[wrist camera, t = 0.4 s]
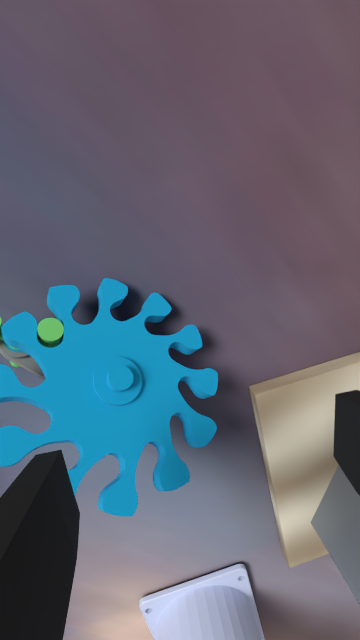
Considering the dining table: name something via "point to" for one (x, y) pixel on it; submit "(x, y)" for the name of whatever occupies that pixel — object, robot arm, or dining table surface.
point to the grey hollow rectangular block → (341, 528)
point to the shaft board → (301, 447)
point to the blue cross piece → (105, 389)
